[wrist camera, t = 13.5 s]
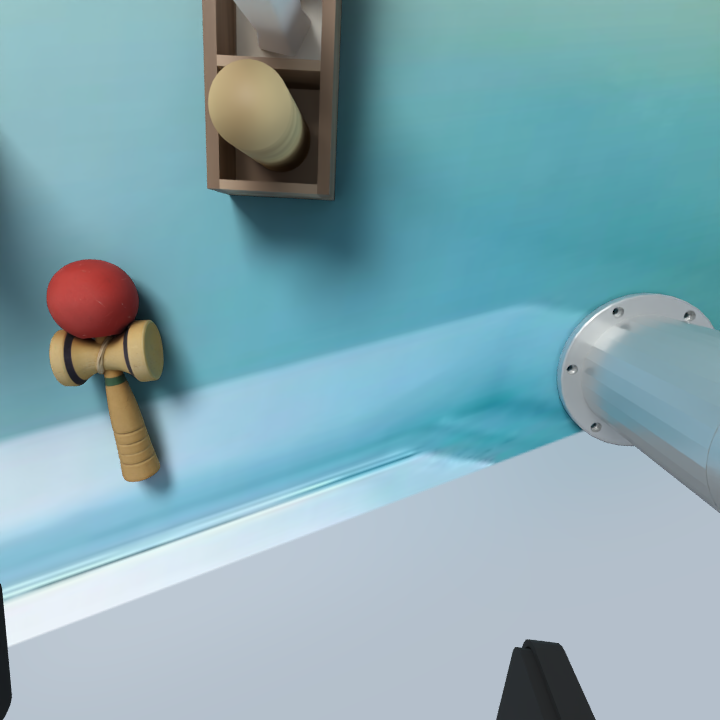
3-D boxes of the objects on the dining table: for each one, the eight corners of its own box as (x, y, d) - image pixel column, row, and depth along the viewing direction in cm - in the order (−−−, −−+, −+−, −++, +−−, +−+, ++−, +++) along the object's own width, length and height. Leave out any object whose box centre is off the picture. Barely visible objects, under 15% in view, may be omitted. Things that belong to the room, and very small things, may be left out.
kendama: (205, 450, 43) (155, 249, 36) (167, 495, 37) (99, 267, 30) (130, 447, 44) (68, 254, 38) (82, 490, 39) (-1, 273, 32)
